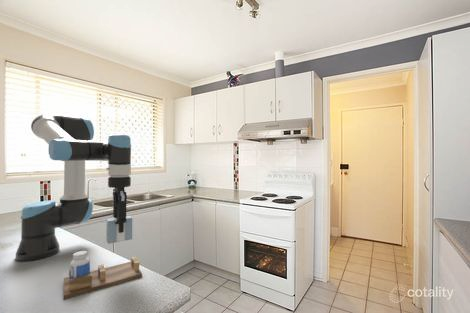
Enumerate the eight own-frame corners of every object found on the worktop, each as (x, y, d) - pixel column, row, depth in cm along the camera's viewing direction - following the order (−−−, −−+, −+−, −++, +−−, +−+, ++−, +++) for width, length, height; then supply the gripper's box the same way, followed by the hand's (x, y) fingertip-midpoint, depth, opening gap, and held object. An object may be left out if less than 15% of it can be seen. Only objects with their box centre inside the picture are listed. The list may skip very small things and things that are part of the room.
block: (106, 240, 85) (106, 219, 85) (129, 236, 90) (129, 215, 90) (108, 243, 82) (108, 221, 82) (132, 239, 86) (132, 217, 87)
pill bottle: (93, 277, 81) (93, 249, 82) (83, 285, 76) (83, 256, 76) (77, 277, 81) (77, 249, 81) (66, 286, 76) (66, 256, 76)
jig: (63, 281, 81) (63, 268, 81) (133, 263, 95) (133, 253, 95) (63, 299, 71) (63, 285, 71) (141, 276, 84) (142, 264, 84)
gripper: (105, 175, 91) (104, 235, 90) (112, 178, 77) (111, 248, 77) (125, 174, 95) (125, 231, 95) (135, 177, 81) (135, 243, 81)
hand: (119, 239), depth 86 cm, fingers closed on block, 4 cm apart
